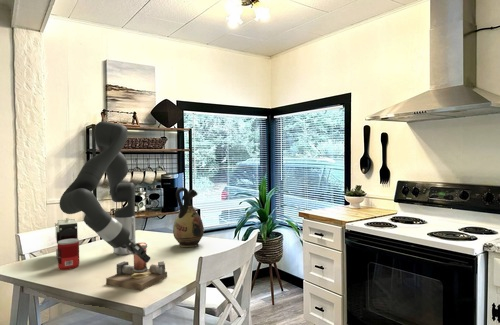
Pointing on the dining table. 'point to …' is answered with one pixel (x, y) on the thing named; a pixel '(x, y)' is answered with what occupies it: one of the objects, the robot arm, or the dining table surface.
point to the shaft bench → (137, 276)
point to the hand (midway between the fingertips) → (144, 259)
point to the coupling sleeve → (140, 261)
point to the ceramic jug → (187, 221)
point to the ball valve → (66, 230)
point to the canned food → (68, 254)
